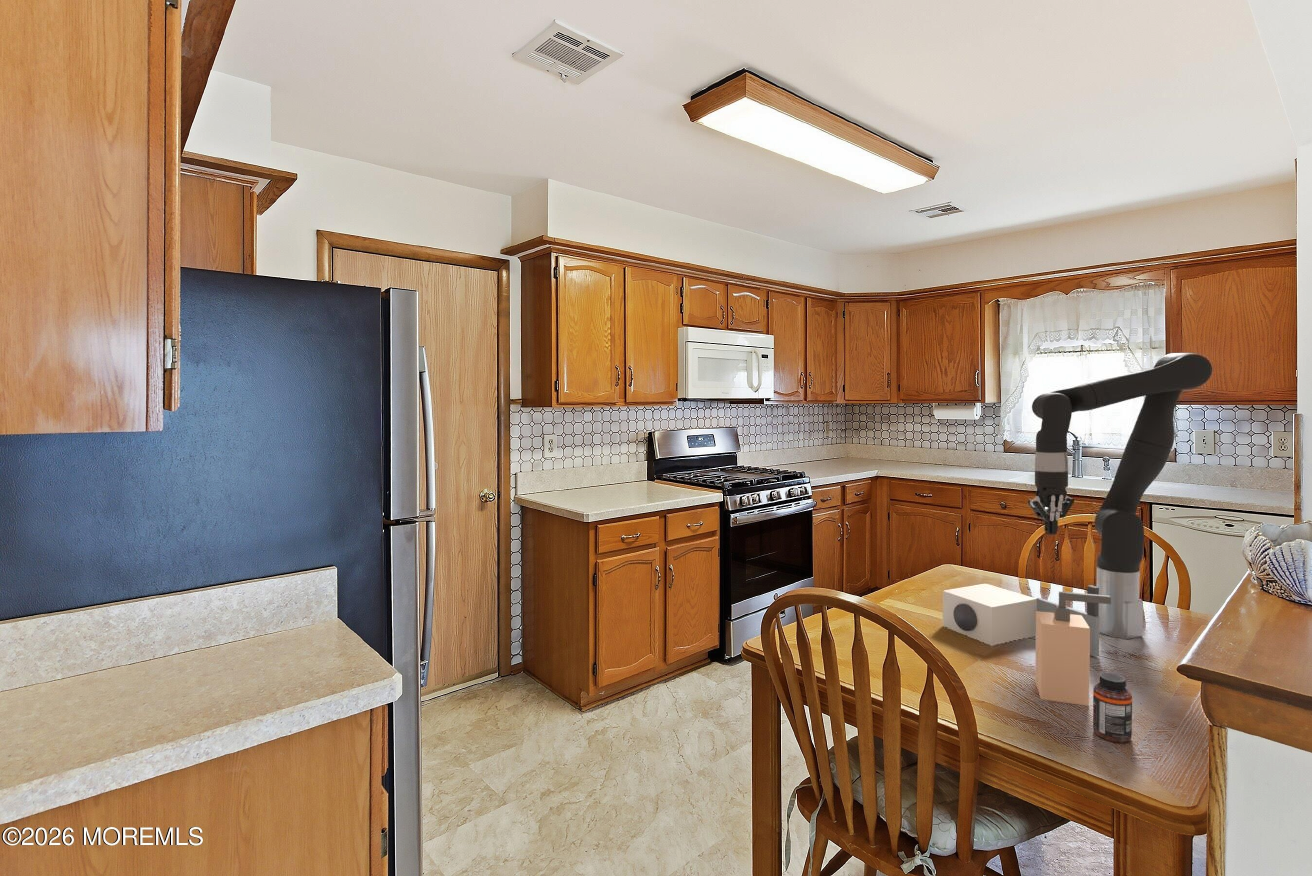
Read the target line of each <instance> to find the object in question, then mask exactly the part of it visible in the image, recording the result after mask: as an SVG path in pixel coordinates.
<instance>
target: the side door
mask: <svg viewBox="0 0 1312 876" xmlns="http://www.w3.org/2000/svg"><path fill="white" fill-rule="evenodd" d="M1086 590H1087V591H1086V594H1096V595H1099V587H1097V585H1096V586H1095V585H1087V589H1086ZM1036 599H1037V611H1040V612H1051V613H1054V605H1059V603H1057V602H1054V601H1050V600H1048V599H1044V598H1041V597H1036ZM1068 608H1069V609H1070V614H1072V615H1082V617H1083V618H1084V620H1085V621H1086V623H1087V624H1088V626H1089V628H1090V657H1091V656H1092V657H1094V658H1098V657H1100V632H1099V624H1100V617H1099V603H1090V602H1086V611H1082V610H1079V609H1077V608H1073V607H1069V606H1068Z"/></svg>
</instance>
